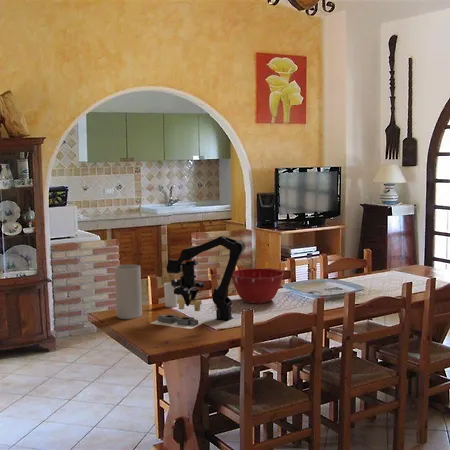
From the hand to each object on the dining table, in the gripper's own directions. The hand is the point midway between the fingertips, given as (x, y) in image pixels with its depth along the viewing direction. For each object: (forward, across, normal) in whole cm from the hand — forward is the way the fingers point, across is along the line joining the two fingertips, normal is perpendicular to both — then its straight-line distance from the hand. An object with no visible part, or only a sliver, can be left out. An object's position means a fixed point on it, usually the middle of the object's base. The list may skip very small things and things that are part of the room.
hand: (189, 305), depth 308 cm
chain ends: (+6, +11, 0) cm, 12 cm away
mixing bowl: (+6, -45, +15) cm, 48 cm away
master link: (+2, 0, 0) cm, 2 cm away
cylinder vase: (+6, +10, -29) cm, 31 cm away
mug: (+6, -18, -21) cm, 28 cm away
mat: (+6, +11, 0) cm, 13 cm away
